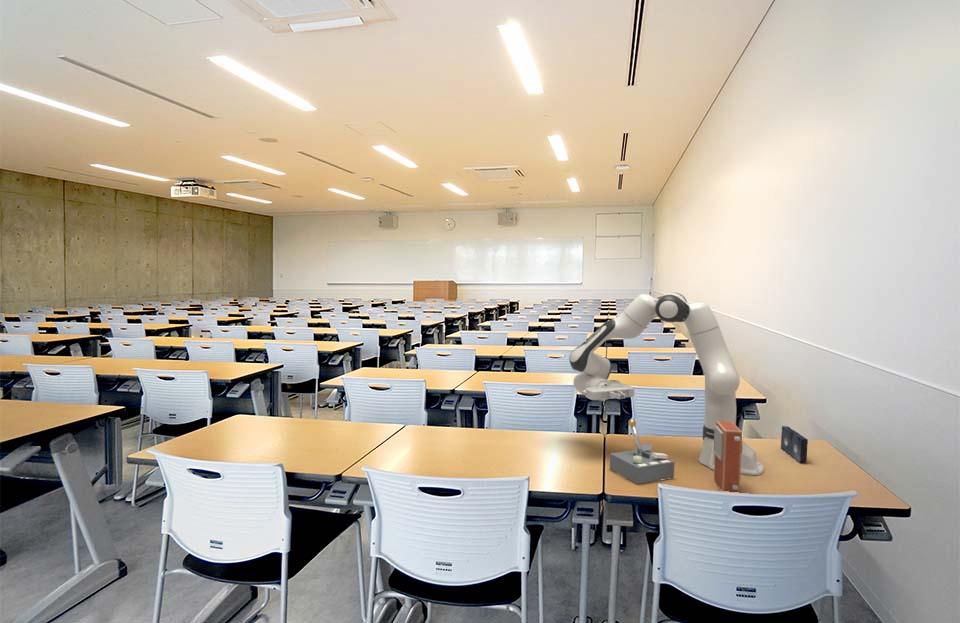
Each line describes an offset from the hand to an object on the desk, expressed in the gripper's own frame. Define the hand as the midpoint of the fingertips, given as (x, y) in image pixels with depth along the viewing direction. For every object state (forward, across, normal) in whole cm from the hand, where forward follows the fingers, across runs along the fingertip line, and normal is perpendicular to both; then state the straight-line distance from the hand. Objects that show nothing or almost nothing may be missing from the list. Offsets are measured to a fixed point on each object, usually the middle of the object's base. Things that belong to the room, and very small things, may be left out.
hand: (622, 396), depth 204 cm
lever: (+12, 0, +19) cm, 23 cm away
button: (+16, -5, +20) cm, 26 cm away
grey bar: (+8, +6, +20) cm, 22 cm away
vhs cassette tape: (+19, +71, +26) cm, 78 cm away
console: (+12, 0, +26) cm, 29 cm away
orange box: (+33, +19, +26) cm, 46 cm away
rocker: (+16, +5, +18) cm, 25 cm away
